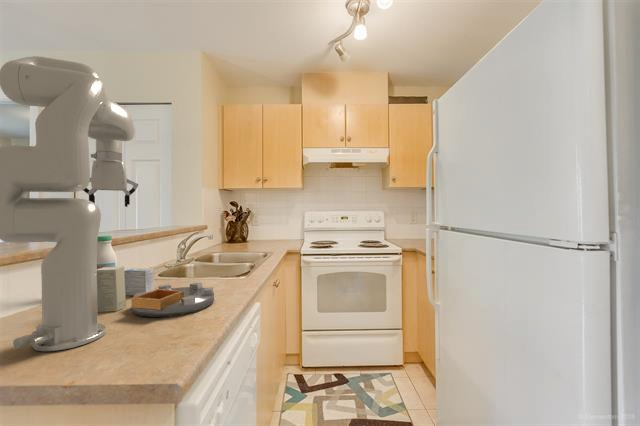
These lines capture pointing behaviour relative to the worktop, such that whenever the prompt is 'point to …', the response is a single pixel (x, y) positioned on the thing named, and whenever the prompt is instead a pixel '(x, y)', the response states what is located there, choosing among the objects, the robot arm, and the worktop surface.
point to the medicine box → (139, 280)
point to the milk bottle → (105, 252)
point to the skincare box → (110, 289)
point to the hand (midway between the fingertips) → (110, 206)
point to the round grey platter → (172, 300)
